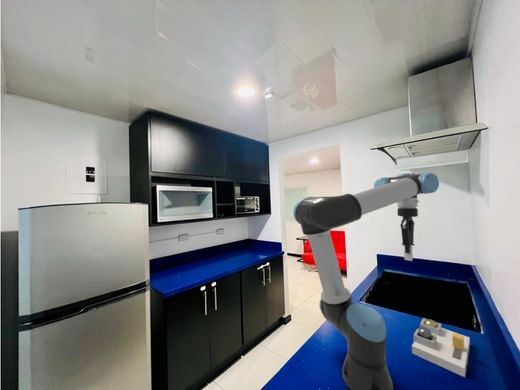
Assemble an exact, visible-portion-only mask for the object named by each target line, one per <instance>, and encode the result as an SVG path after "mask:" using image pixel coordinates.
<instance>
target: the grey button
mask: <svg viewBox="0 0 520 390" xmlns="http://www.w3.org/2000/svg"><path fill="white" fill-rule="evenodd" d="M418 329H419V336H420V337H422V338H425V339H428V340H431V330H429V329H428V328H425V327H420V326H419V327H418Z"/></svg>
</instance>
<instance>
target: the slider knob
mask: <svg viewBox="0 0 520 390" xmlns="http://www.w3.org/2000/svg"><path fill="white" fill-rule="evenodd" d="M455 333H456V332H455ZM455 333H453V336H452V338H453V347H456V348H458V349H461V350H464V336H465V335H464V336H461V335H462V334H461V335H458V334H459V333H458V334H455Z"/></svg>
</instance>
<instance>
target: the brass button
mask: <svg viewBox="0 0 520 390" xmlns="http://www.w3.org/2000/svg"><path fill="white" fill-rule="evenodd" d="M437 323H438V322H437ZM437 323H436V321H434V320H432V319H430V318H429V319H427V318H425V324H426V325H429V326H431V327H434V328H437Z"/></svg>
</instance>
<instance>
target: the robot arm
mask: <svg viewBox="0 0 520 390" xmlns="http://www.w3.org/2000/svg"><path fill="white" fill-rule="evenodd" d="M439 186H440V181H439V178H438V176H437V175H436V174H435V173H432V172H422V173H412V172H411V173H410V172H409V173H407V172H405V173H398V174H397V175H396V176H391V177H386V176H383V177H379V178H377V179H375V181H374V184H373V188H369V189H367V190H363V191H361V192H358V193H354V194H352V193H345V194H342V195H335V196H308V197H303V198H301V199H300V200H298V201H297V202H296V204H295V205H294V208H293V216H294V217H293V218H294V219H295V221H296V222H297V223H298V224H299V225H300V227H301V230H302V234H303V235H304V236H305V237H307V238H308V241H309V245H310V249H311V253H312V255H313V260H314V264H315V266H316V271H317V274H318V277H319V281H320V284H321V288H322V291H321V292H320V300H319V303H318V304H319V309H320V312H321V315H322V316H323V317H324V318H325V320H326V321H328V323H329V324H331V325H332V326H333V327H334V328H335V329H336V330H337V331H338V332H339V333H340V334H341V335H342V336H343V337H344V338H345V339H346V341H347V343H346V344H347V346H346V347H347V354H346V356H345V359H344V361H343V363H342V364H343V365H342V368H341V369H342V380H343V379H344V380H343V382H344V381H345V382H344V384H345V383H346V384H345V385H346V387H347V386H348V387H349V388H350V389H351V390H394V385H393V381H392V378H391V375H390V373H389V370H388V365H387V341H386V340H387V330H386V323H385V320H384V318H383V315H381V313H380V312H378V311H377V310H376V309H375V308H373V307H371V306H370V305H368V306H367V305H365V304H363V303H362V304H361V303H354V302H353V297H352V294H351V292H350V290H349V289H348V288H347V287H345V283H344V280H343V276H342V273H341V270H340V269H341V268H340V266H339V262H338V258H337V253H336V251H335V247H334V244H333V239H332V236H331V231H332V230H333V229H337V228H340V227H342V226H345V225H348V224H351V223H354V222H356V221H359V220H360V219H362V216H364V215H366V214H369V213H372V212H374V211H378V210H380V209H383V208H385V207H388V206H391V205H393V204H396V205H397V207H398V208H397V211H396V213H397V216H398V217H401V218H402V220H401V223H400V225H399V226H400V229H401V239H402V240H401V241H402V243H401V246H403V247H404V248H403V251H404V254H403V255H404V260H405V261H408V262H409V261H410V262H413V257H414V256H413V247H414V246H415V243H414V239H415V238H414V234H415V233H414V232H415V221H414V219H413V218H415V217H419V211H418V208H417V207H418V203H420V200H418V195H423V194H424V195H427V194H432V193H435V192H436V191H438V189H439ZM348 387H347V388H348ZM349 388H348V389H349ZM350 389H349V390H350Z"/></svg>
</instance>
